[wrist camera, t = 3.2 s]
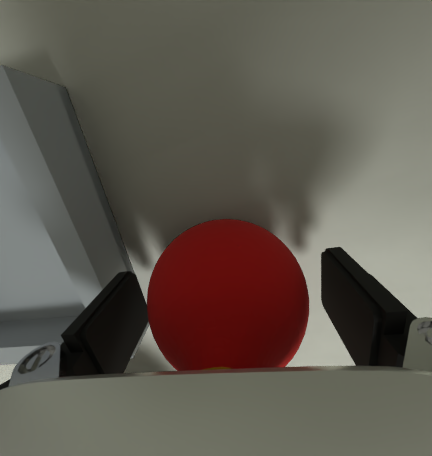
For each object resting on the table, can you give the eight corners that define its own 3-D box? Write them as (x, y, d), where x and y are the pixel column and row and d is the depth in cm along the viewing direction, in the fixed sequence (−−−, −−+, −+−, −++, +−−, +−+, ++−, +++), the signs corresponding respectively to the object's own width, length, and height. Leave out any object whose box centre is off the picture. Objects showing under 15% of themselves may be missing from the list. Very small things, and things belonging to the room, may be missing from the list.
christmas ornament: (227, 318, 15) (217, 605, 6) (150, 254, 13) (-37, 498, 4) (310, 259, 13) (524, 575, 3) (229, 175, 11) (204, 317, 2)
